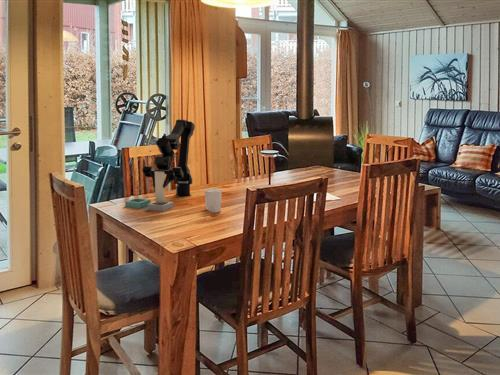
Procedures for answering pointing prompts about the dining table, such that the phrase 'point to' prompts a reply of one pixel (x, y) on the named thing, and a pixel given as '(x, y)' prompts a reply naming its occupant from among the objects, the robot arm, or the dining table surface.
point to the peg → (159, 186)
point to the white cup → (213, 199)
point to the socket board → (148, 205)
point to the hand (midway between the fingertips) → (158, 187)
